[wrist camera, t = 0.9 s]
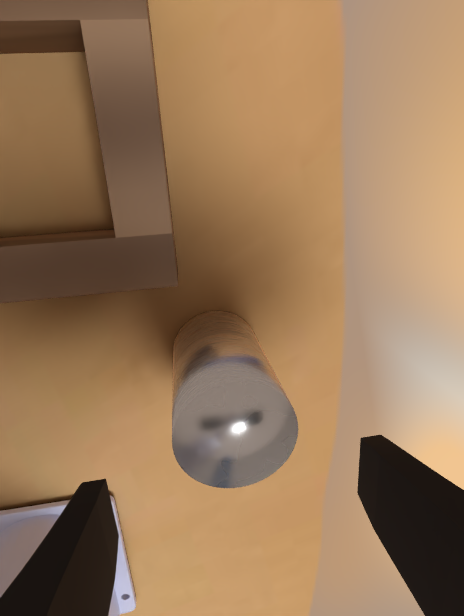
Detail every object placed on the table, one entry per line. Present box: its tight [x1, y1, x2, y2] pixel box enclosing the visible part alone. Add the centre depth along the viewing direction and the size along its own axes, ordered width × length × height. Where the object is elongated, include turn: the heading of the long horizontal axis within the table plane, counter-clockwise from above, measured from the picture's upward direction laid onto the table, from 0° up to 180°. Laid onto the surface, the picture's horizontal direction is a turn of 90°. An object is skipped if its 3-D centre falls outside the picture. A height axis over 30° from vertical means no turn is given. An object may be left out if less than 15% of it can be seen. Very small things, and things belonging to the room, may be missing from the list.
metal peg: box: [172, 311, 298, 488], centre depth 16 cm, size 4×4×7 cm
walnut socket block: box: [0, 0, 178, 303], centre depth 14 cm, size 11×11×3 cm
